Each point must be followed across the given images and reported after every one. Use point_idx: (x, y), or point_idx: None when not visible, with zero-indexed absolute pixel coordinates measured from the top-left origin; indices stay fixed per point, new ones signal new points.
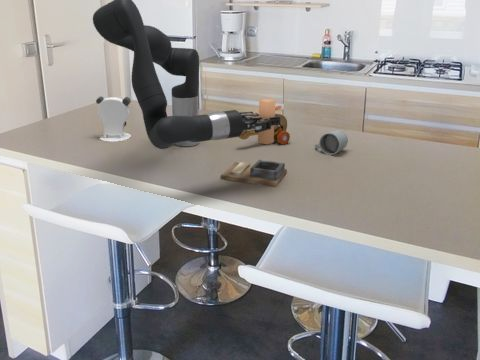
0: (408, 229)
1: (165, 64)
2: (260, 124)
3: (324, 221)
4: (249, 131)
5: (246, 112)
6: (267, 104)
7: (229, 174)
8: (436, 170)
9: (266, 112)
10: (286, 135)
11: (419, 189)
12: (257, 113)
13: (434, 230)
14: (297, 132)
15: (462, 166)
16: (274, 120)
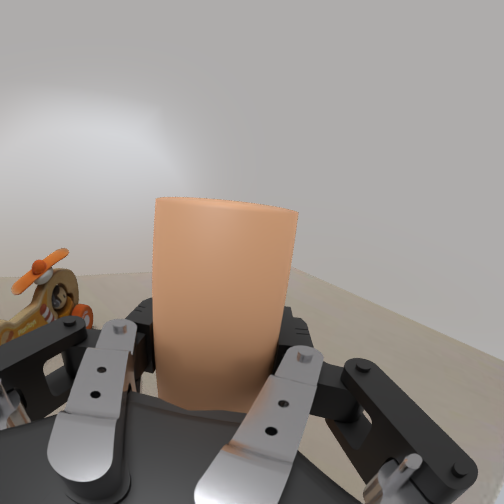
0: (499, 393)
1: None
2: (450, 453)
3: (497, 477)
4: (16, 333)
5: (38, 337)
6: (288, 232)
7: None
8: (330, 302)
9: (276, 308)
10: (88, 313)
11: (387, 338)
12: (128, 324)
13: (494, 376)
14: (82, 293)
15: (327, 287)
16: (309, 343)
